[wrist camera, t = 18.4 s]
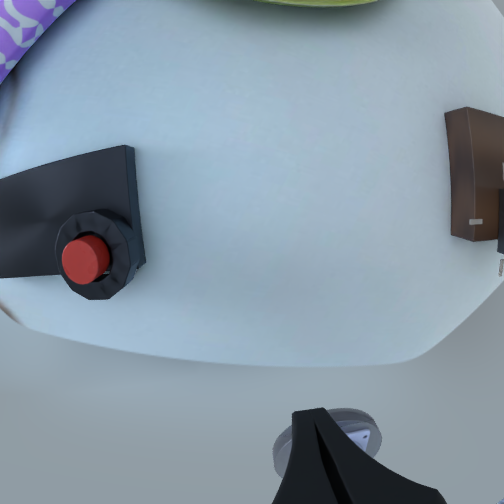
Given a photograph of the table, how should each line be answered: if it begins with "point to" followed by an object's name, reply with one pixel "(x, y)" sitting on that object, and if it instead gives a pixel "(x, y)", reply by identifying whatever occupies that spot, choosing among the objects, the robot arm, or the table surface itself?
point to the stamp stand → (475, 173)
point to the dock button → (85, 259)
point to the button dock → (73, 218)
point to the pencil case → (24, 27)
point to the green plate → (318, 2)
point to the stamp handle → (501, 222)
